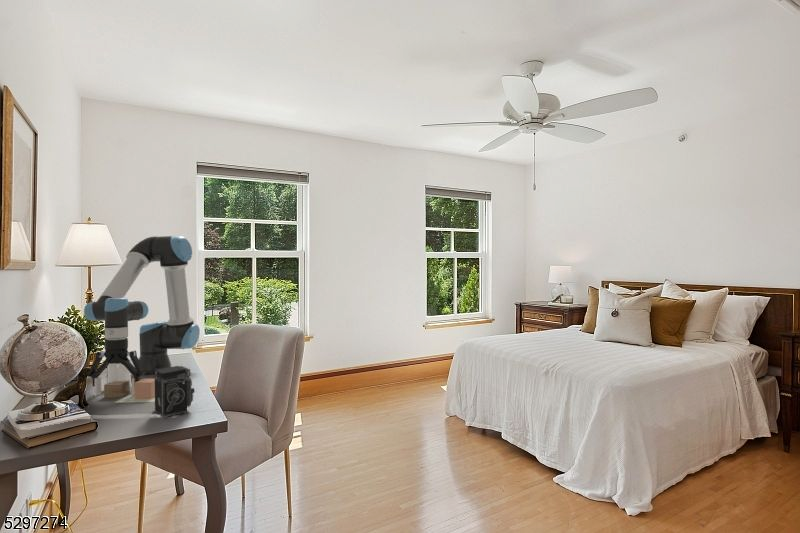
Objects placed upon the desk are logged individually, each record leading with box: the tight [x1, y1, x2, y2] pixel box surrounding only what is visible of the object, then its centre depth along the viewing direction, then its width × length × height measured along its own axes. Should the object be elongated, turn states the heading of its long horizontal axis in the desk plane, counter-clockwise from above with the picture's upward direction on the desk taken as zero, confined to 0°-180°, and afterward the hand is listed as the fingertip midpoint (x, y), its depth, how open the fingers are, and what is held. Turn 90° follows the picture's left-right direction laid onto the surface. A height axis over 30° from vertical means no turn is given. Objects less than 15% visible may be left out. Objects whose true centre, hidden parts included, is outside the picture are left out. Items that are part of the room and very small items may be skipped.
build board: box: [114, 393, 155, 404], centre depth 169 cm, size 14×16×1 cm
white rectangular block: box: [107, 356, 132, 385], centre depth 186 cm, size 12×8×12 cm
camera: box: [154, 365, 195, 418], centre depth 154 cm, size 10×10×15 cm
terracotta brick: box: [135, 378, 155, 399], centre depth 169 cm, size 6×6×6 cm
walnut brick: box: [103, 381, 131, 398], centre depth 172 cm, size 6×6×6 cm
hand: (116, 395), depth 172 cm, fingers open, 13 cm apart
